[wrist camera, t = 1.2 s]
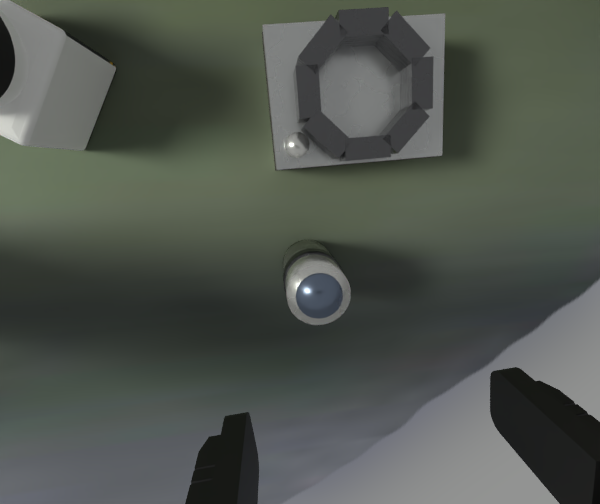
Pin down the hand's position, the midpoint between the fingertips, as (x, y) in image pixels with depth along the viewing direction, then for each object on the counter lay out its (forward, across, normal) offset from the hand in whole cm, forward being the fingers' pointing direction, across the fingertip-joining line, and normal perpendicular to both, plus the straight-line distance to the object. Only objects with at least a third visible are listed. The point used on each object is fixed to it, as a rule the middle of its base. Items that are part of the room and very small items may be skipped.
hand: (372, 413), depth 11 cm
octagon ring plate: (+20, -4, -12) cm, 24 cm away
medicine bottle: (+20, +17, -16) cm, 31 cm away
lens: (+20, 0, +1) cm, 20 cm away
